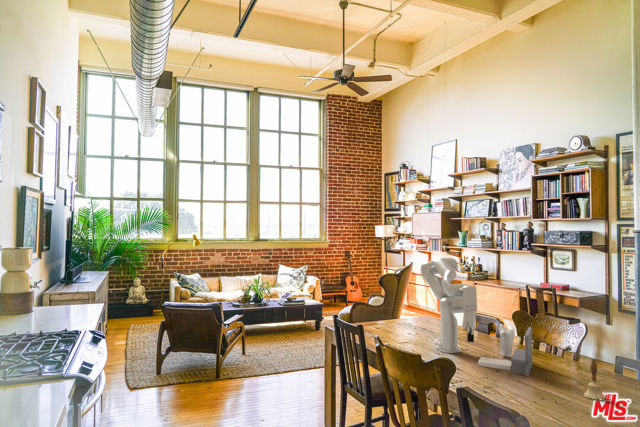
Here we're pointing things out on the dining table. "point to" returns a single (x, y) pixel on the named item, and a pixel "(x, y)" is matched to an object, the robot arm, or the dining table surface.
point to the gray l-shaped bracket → (523, 356)
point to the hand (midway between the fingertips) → (470, 341)
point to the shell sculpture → (506, 340)
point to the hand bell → (594, 385)
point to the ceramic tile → (495, 363)
